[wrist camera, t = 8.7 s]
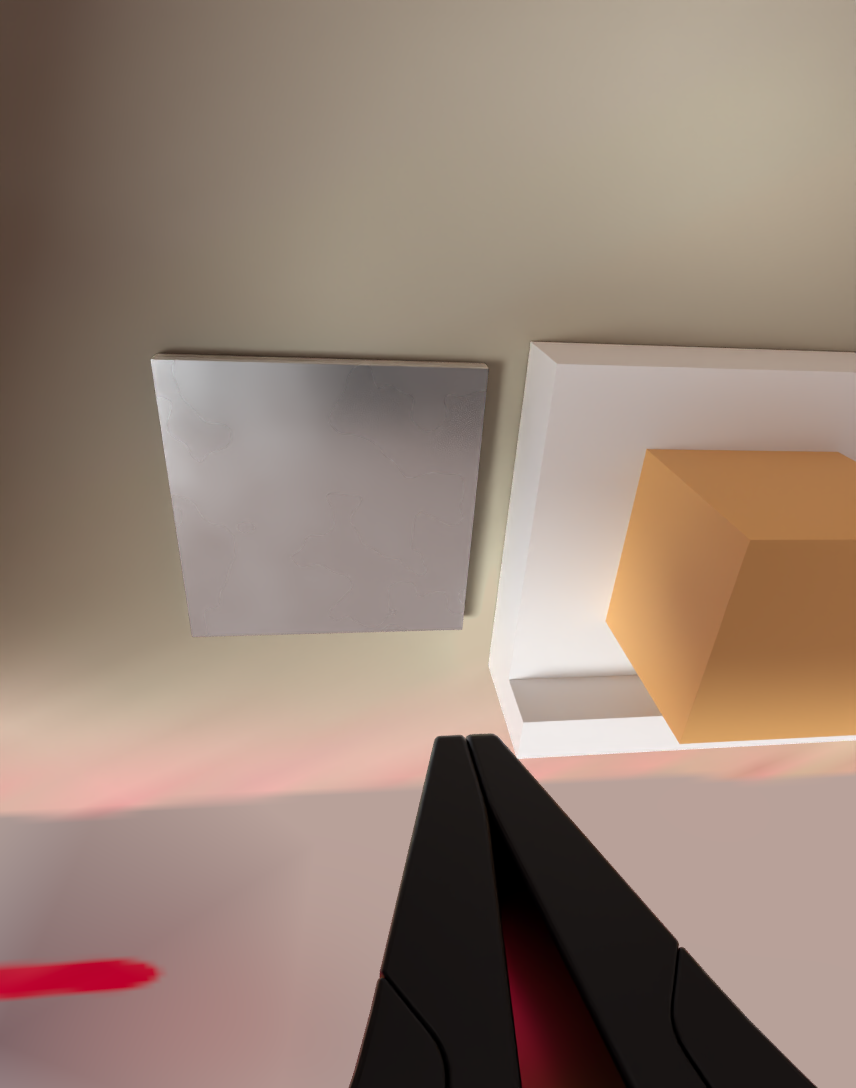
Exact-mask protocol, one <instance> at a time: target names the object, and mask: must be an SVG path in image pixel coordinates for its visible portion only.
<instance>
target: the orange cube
mask: <svg viewBox="0 0 856 1088" xmlns="http://www.w3.org/2000/svg"><path fill="white" fill-rule="evenodd" d="M606 623H607V625H608V626H609V628H610V630H611V631H612V633H613V635H614V636H615V638H616V640H617V641H618V643H619V645H620V646H621V648H622V650H623V651H624V653H625V654H626V656H627V658H628V659H629V661H630V663H631V664H632V666H633V668H634V669H635V671H636V673H637V674H638V676H639V678H640V679H641V681H642V683H643V684H644V686H645V688H646V689H647V691H648V693H649V694H650V696H651V698H652V699H653V701H654V703H655V704H656V706H657V707H658V709H659V711H660V712H661V714H662V716H663V717H664V719H665V721H666V722H667V724H668V726H669V727H670V729H671V731H672V732H673V734H674V736H675V737H676V739H677V741H678V742H679V744H691V743H711V742H730V741H750V740H770V739H790V738H809V737H829V736H849V735H856V461H854V460H852V459H850V458H848V457H846V456H845V455H843V454H841V453H839V452H811V451H743V450H675V449H646V453H645V458H644V462H643V466H642V470H641V474H640V479H639V483H638V487H637V491H636V495H635V500H634V504H633V508H632V512H631V516H630V521H629V525H628V529H627V533H626V537H625V541H624V546H623V550H622V554H621V558H620V562H619V567H618V571H617V575H616V579H615V583H614V588H613V592H612V596H611V600H610V604H609V609H608V613H607V617H606Z"/></svg>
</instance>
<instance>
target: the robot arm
mask: <svg viewBox="0 0 856 1088" xmlns="http://www.w3.org/2000/svg"><path fill="white" fill-rule="evenodd" d="M678 946H679V943H678V941H677V940H676V938H675V937H674V936H673V935H672V934H671V933H670V931H669V930H668V929H667V928H666V927H665V926H664V925H663V923H662V922H661V921H660V920H659V919H658V918H657V917H656V916H655V914H654V913H653V912H652V911H651V910H650V909H649V908H648V907H647V905H646V904H645V903H644V902H643V901H642V900H641V898H640V897H639V896H638V895H637V894H636V893H635V892H634V890H633V889H631V887H630V886H629V885H628V884H627V883H626V882H625V880H624V879H623V878H622V877H621V876H620V875H619V874H618V872H617V871H616V870H615V869H614V868H613V867H612V866H611V864H610V863H609V862H608V861H607V860H606V859H605V858H604V856H603V855H602V854H601V853H600V852H599V851H598V850H597V848H596V847H595V846H594V845H593V844H592V843H591V842H590V840H589V839H588V838H587V837H586V836H585V835H584V834H583V833H582V831H581V830H580V829H579V828H578V827H577V826H576V825H575V823H574V822H573V821H572V820H571V819H570V818H569V817H568V815H567V814H566V813H565V812H564V811H563V810H562V809H561V808H560V806H559V805H558V804H557V803H556V802H555V801H554V800H553V798H552V797H551V796H550V795H549V794H548V793H547V792H546V790H545V789H544V788H543V787H542V786H541V785H540V784H539V783H538V781H537V780H536V779H535V778H534V777H533V776H532V775H531V773H530V772H529V771H528V770H527V769H526V768H525V767H524V765H523V764H522V763H521V762H520V761H519V760H518V759H517V758H516V756H515V755H514V754H513V753H512V752H511V751H510V750H509V748H508V747H507V746H506V745H505V744H504V743H503V742H502V741H501V739H500V738H499V737H498V736H496V735H495V734H472V735H468V736H467V737H466V739H465V738H464V737H463V736H462V735H452V736H438V737H437V738H436V739H435V741H434V744H433V748H432V753H431V757H430V761H429V765H428V770H427V774H426V778H425V782H424V786H423V791H422V795H421V799H420V803H419V808H418V812H417V816H416V821H415V825H414V829H413V833H412V838H411V842H410V846H409V850H408V854H407V859H406V863H405V868H404V871H403V876H402V880H401V884H400V888H399V893H398V897H397V901H396V905H395V910H394V914H393V918H392V923H391V927H390V931H389V935H388V940H387V944H386V948H385V952H384V956H383V961H382V965H381V969H380V978H379V979H378V981H377V984H376V989H375V993H374V997H373V1001H372V1006H371V1010H370V1014H369V1018H368V1022H367V1026H366V1029H365V1033H364V1037H363V1040H362V1044H361V1048H360V1052H359V1055H358V1059H357V1063H356V1066H355V1070H354V1073H353V1076H352V1079H351V1082H350V1085H349V1088H817V1087H816V1086H815V1085H814V1084H813V1083H812V1082H811V1081H810V1080H809V1079H808V1078H807V1077H806V1076H805V1075H804V1074H803V1073H802V1072H801V1071H800V1070H799V1069H798V1068H797V1067H796V1066H795V1065H794V1064H793V1063H792V1062H791V1061H790V1060H789V1059H788V1058H787V1057H786V1056H785V1055H784V1054H783V1053H782V1052H781V1051H780V1050H779V1049H778V1048H777V1047H776V1046H775V1045H774V1044H773V1043H772V1042H771V1041H770V1040H769V1039H768V1038H767V1037H766V1036H765V1035H764V1034H763V1033H762V1032H761V1031H760V1030H759V1029H758V1028H757V1027H756V1026H755V1025H754V1024H753V1023H752V1022H751V1021H750V1020H749V1019H748V1018H747V1017H746V1016H745V1015H744V1014H743V1012H742V1011H741V1010H740V1009H739V1008H738V1007H737V1006H736V1005H735V1004H734V1003H733V1002H732V1001H731V999H730V998H729V997H728V996H727V995H726V994H725V993H724V992H723V991H722V990H721V989H720V987H718V985H717V984H716V983H715V982H714V981H713V980H712V979H711V978H710V977H709V975H708V974H707V973H706V972H705V971H704V970H703V969H702V967H701V966H700V965H699V964H698V963H697V962H696V961H695V960H694V958H693V957H692V956H691V955H690V954H689V953H688V951H687V950H686V949H685V948H683V947H680V948H679V949H678Z"/></svg>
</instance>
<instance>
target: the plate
mask: <svg viewBox="0 0 856 1088" xmlns="http://www.w3.org/2000/svg"><path fill="white" fill-rule="evenodd" d="M150 360H151V366H152V373H153V380H154V386H155V393H156V400H157V406H158V413H159V420H160V426H161V433H162V440H163V446H164V453H165V460H166V466H167V473H168V480H169V486H170V493H171V500H172V506H173V513H174V520H175V526H176V533H177V540H178V546H179V553H180V560H181V566H182V573H183V580H184V586H185V593H186V600H187V606H188V613H189V620H190V626H191V633H192V637H205V636H242V635H279V634H316V633H353V632H389V631H426V630H462V626H463V616H464V607H465V597H466V587H467V577H468V568H469V558H470V548H471V538H472V529H473V519H474V509H475V499H476V489H477V480H478V470H479V460H480V450H481V441H482V431H483V421H484V411H485V401H486V392H487V382H488V372H489V368H488V367H487V366H486V364H485V363H468V362H433V361H398V360H363V359H328V358H293V357H258V356H223V355H188V354H156V355H154V356H153V357H152V358H151V359H150Z"/></svg>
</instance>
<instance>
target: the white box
mask: <svg viewBox="0 0 856 1088" xmlns="http://www.w3.org/2000/svg"><path fill="white" fill-rule="evenodd" d="M646 449H675V450H743V451H811V452H839V453H841V454H843V455H845V456H846V457H848V458H850V459H852V460H854V461H856V352H829V351H800V350H770V349H740V348H710V347H680V346H650V345H620V344H590V343H560V342H531V343H530V351H529V359H528V366H527V374H526V382H525V389H524V397H523V404H522V412H521V420H520V427H519V435H518V443H517V450H516V458H515V466H514V473H513V481H512V488H511V496H510V504H509V511H508V519H507V527H506V534H505V542H504V549H503V557H502V565H501V572H500V580H499V588H498V595H497V603H496V611H495V618H494V626H493V633H492V641H491V649H490V656H489V664H488V666H489V669H490V673H491V676H492V679H493V682H494V686H495V689H496V692H497V695H498V699H499V702H500V705H501V708H502V711H503V715H504V718H505V721H506V724H507V728H508V731H509V734H510V737H511V741H512V744H513V747H514V750H515V754H516V757H517V759H523V758H541V757H559V756H578V755H596V754H614V753H632V752H651V751H669V750H687V749H705V748H724V747H742V746H760V745H778V744H797V743H815V742H833V741H851V740H856V735H849V736H829V737H809V738H790V739H770V740H750V741H730V742H711V743H691V744H679V742H678V741H677V739H676V737H675V736H674V734H673V732H672V731H671V729H670V727H669V726H668V724H667V722H666V721H665V719H664V717H663V716H662V714H661V712H660V711H659V709H658V707H657V706H656V704H655V703H654V701H653V699H652V698H651V696H650V694H649V693H648V691H647V689H646V688H645V686H644V684H643V683H642V681H641V679H640V678H639V676H638V674H637V673H636V671H635V669H634V668H633V666H632V664H631V663H630V661H629V659H628V658H627V656H626V654H625V653H624V651H623V650H622V648H621V646H620V645H619V643H618V641H617V640H616V638H615V636H614V635H613V633H612V631H611V630H610V628H609V626H608V625H607V623H606V617H607V613H608V609H609V604H610V600H611V596H612V592H613V588H614V583H615V579H616V575H617V571H618V567H619V562H620V558H621V554H622V550H623V546H624V541H625V537H626V533H627V529H628V525H629V521H630V516H631V512H632V508H633V504H634V500H635V495H636V491H637V487H638V483H639V479H640V474H641V470H642V466H643V462H644V458H645V453H646Z"/></svg>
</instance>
